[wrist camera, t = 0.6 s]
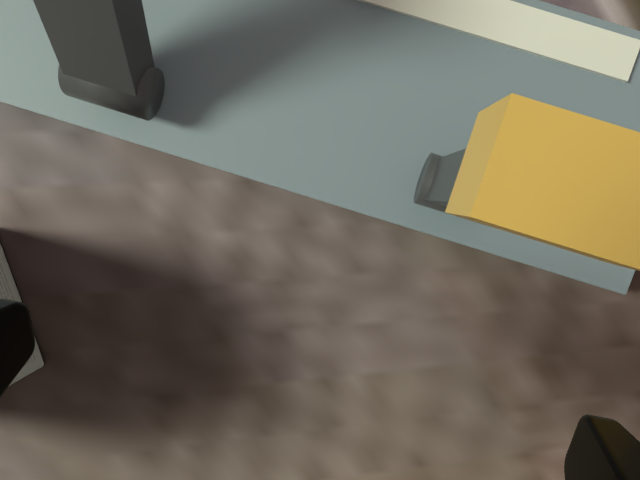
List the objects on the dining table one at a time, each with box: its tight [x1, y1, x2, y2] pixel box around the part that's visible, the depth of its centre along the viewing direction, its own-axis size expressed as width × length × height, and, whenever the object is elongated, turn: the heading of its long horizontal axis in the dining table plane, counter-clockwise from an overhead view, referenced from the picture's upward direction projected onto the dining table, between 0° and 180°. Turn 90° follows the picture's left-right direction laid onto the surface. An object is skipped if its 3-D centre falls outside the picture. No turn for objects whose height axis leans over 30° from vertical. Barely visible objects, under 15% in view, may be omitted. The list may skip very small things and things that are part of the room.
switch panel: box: [0, 0, 640, 295], centre depth 21 cm, size 10×30×3 cm, turn 73°
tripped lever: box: [414, 93, 640, 271], centre depth 15 cm, size 2×4×11 cm, turn 73°
